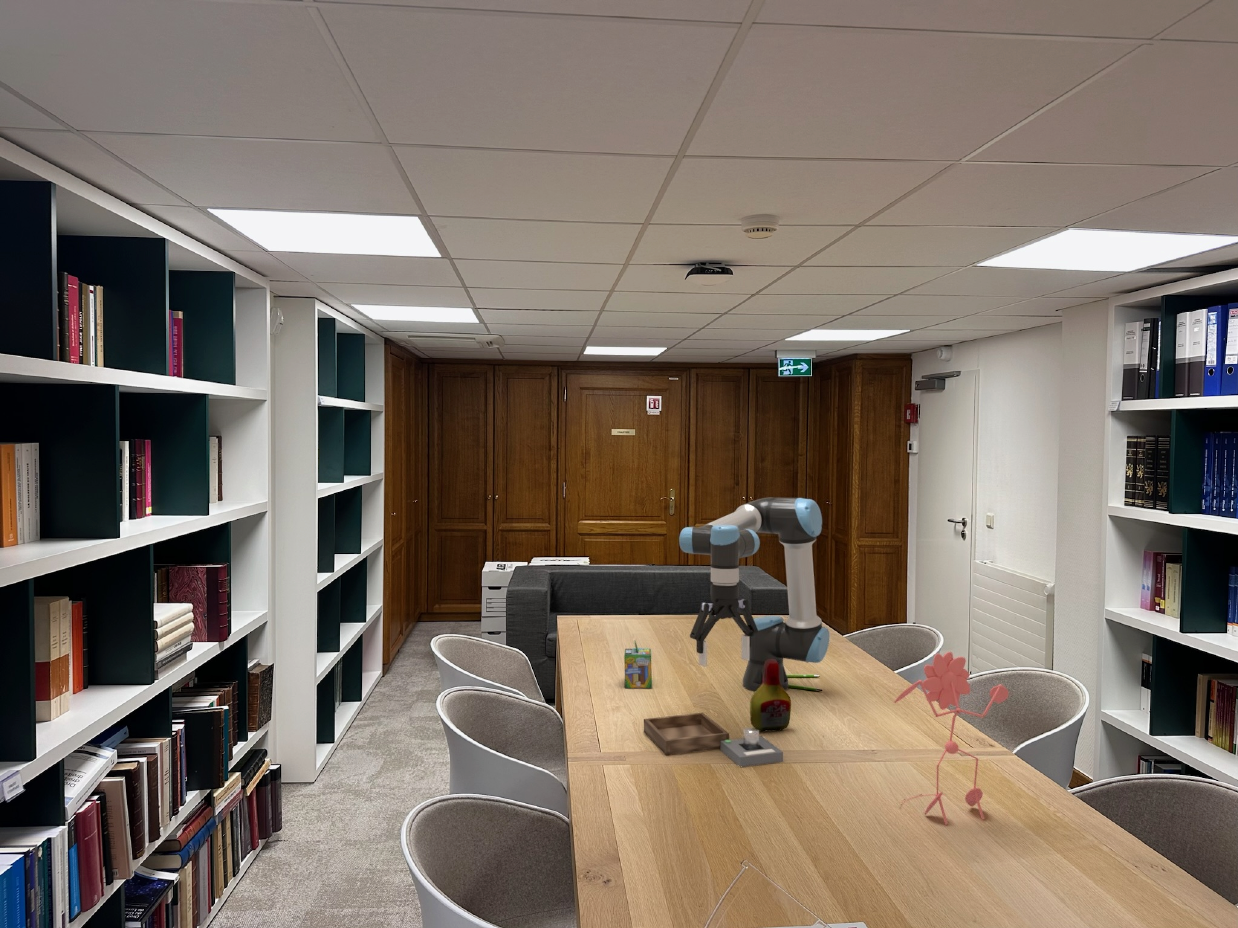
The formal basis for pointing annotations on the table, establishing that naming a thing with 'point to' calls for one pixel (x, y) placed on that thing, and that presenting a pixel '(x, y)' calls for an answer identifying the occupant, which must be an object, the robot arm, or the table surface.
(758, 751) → the grey flat square piece
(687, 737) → the tray
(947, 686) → the figurine
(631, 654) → the chalk box
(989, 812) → the table surface
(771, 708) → the bottle
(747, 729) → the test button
